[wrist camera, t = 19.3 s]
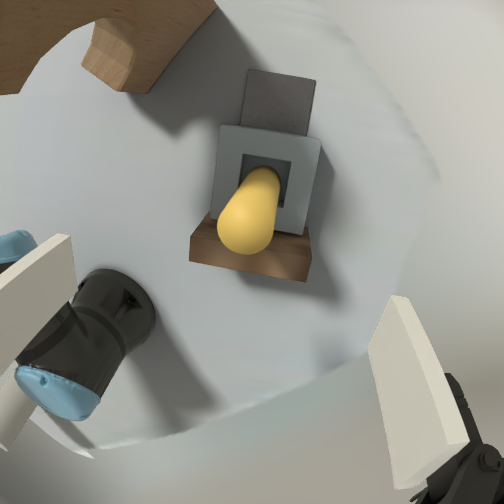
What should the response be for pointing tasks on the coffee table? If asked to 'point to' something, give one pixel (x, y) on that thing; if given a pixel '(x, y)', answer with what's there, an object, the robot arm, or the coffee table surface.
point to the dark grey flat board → (277, 102)
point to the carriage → (272, 154)
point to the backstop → (264, 262)
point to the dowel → (251, 212)
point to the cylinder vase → (13, 411)
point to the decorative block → (99, 37)
